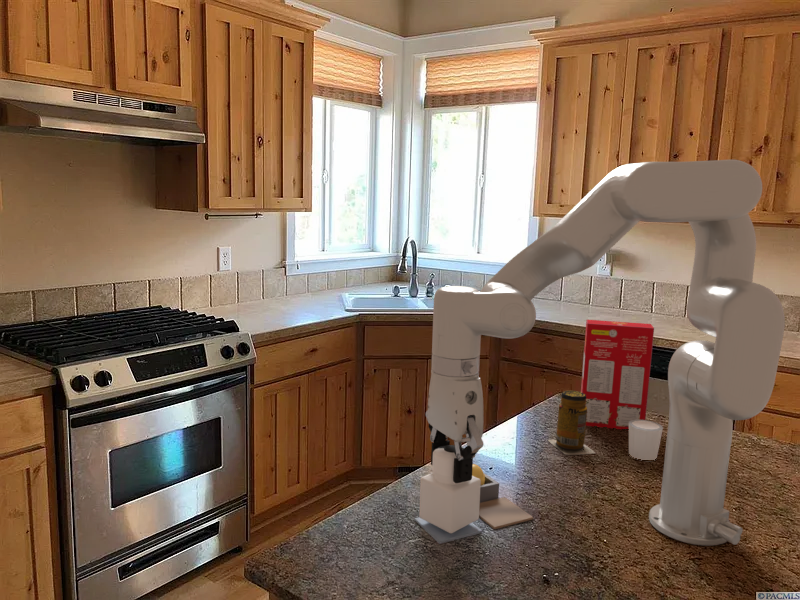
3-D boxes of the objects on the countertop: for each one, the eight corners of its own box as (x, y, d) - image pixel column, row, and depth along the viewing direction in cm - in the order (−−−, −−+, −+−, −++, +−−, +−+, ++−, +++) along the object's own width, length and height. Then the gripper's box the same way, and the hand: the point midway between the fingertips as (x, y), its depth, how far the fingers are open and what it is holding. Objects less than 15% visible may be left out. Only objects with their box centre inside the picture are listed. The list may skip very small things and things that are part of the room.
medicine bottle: (447, 504, 110) (449, 437, 108) (479, 519, 105) (483, 450, 103) (418, 518, 105) (420, 448, 103) (451, 534, 100) (454, 462, 98)
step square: (533, 519, 109) (533, 517, 109) (494, 529, 105) (494, 527, 105) (504, 499, 116) (504, 497, 116) (467, 507, 112) (467, 505, 112)
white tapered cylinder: (632, 446, 142) (635, 416, 141) (664, 455, 138) (667, 424, 137) (620, 455, 137) (623, 424, 136) (653, 465, 133) (656, 433, 132)
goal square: (481, 532, 104) (481, 530, 104) (439, 543, 100) (439, 541, 100) (455, 510, 111) (455, 508, 111) (414, 520, 107) (414, 518, 107)
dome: (489, 494, 116) (490, 467, 115) (467, 499, 114) (469, 471, 113) (474, 483, 120) (476, 458, 119) (453, 488, 118) (455, 462, 117)
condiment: (576, 439, 146) (580, 388, 144) (595, 453, 138) (600, 400, 136) (547, 441, 144) (550, 389, 142) (564, 456, 136) (568, 401, 134)
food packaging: (641, 424, 157) (650, 323, 153) (644, 431, 152) (654, 328, 148) (578, 417, 160) (586, 319, 156) (579, 425, 155) (587, 323, 151)
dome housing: (498, 498, 116) (499, 483, 115) (465, 506, 112) (466, 490, 112) (476, 483, 122) (477, 468, 121) (444, 490, 119) (445, 474, 118)
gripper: (508, 376, 95) (501, 490, 98) (446, 350, 110) (442, 449, 113) (465, 382, 92) (460, 500, 95) (408, 354, 107) (405, 456, 110)
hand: (450, 471), depth 104 cm, fingers closed on medicine bottle, 6 cm apart
